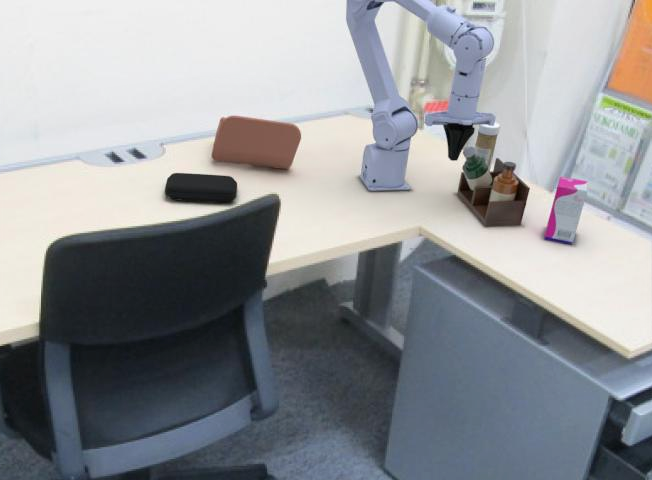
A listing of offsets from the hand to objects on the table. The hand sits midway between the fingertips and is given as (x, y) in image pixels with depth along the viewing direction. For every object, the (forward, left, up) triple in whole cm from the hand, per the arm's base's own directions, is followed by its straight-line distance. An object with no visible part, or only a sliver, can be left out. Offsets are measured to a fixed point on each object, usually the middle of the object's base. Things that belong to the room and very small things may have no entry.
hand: (452, 158), depth 185 cm
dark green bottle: (+9, 0, -7) cm, 11 cm away
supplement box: (+18, -17, -10) cm, 27 cm away
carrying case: (-52, +8, -10) cm, 53 cm away
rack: (+8, -4, -10) cm, 14 cm away
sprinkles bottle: (+12, +11, -10) cm, 19 cm away
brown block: (-37, +26, -10) cm, 46 cm away
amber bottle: (+9, -8, -9) cm, 15 cm away
